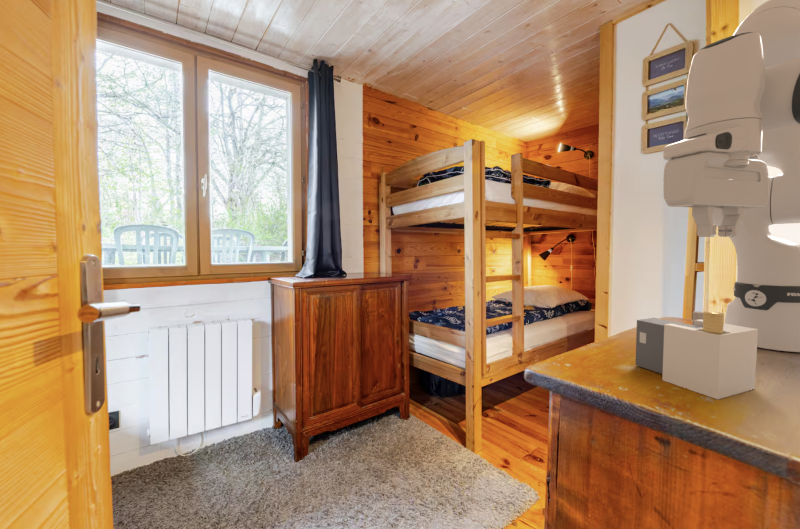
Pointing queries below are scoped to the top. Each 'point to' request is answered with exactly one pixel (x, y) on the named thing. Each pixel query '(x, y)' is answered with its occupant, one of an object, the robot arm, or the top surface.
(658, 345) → the cartridge
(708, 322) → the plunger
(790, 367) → the top surface
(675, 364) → the housing
